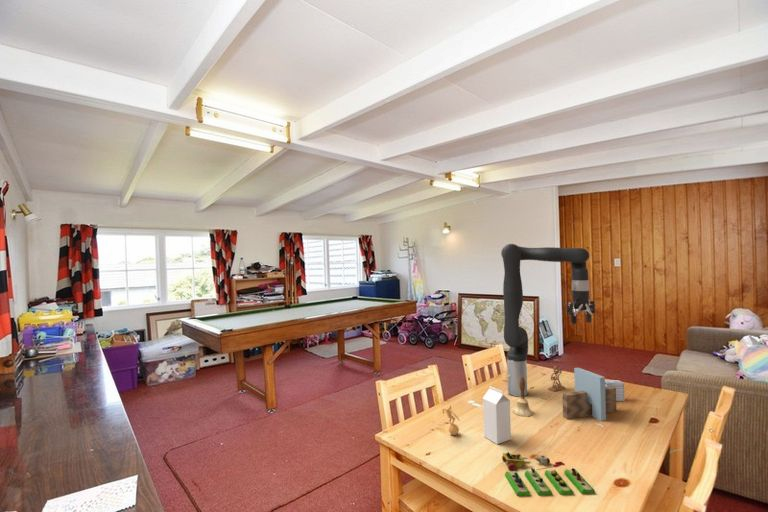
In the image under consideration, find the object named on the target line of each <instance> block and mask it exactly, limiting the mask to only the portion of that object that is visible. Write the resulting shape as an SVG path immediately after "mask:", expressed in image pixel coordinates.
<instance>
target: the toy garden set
mask: <svg viewBox="0 0 768 512" xmlns="http://www.w3.org/2000/svg"><path fill="white" fill-rule="evenodd" d="M501 454H502V456H501V459H502V461H503V462H504V463H505V465H507V469H508V470H507V471H505V473H504V477H505V479H506V480H507V482H508V483H509V485H510V487H511V488H512V490H513V492H514V494H515V495H516V496H517V497H525V496H526V497H527V496H531V492H530V490H529V488H528V487H527V486H526V484H525V483H524V480H522V478H521V476H520V474H519V473H518V472H517V471H516V470H517V469H520V468H521V467H522V466H523V464H531V461H529V460H528V457H526V456H522V454H520V453H518V454H517V453H510V452H509V451H507V453H506V452H502V453H501ZM527 460H528V461H527ZM534 460H535V461H537V462H538V463H539V464H540V465H541V466H544V467H542V468H537V469H536V470H535V468H533V467H531V468H530V470H525V471H524V477H525V478H526V480H527V481H528V482H529V484H530V485H531V487H532V488H533V489H534V491H535V493H536V494H537V496H553V492H552V490H551V489H550V487H549V485H547V484H546V482H545V481H544V478H543V477H542V476H540V474H539V472H538V471H540V470H545V469H546V470H545V471H544V476H545V477H546V479H548V481H549V482H550V484H551V485H552V486H553V488H554V489H555V491H557V493H558V494H559V495H560V496H565V495H567V496H569V495H574V491H573V489H572V488H571V487H570V485H569V484H568V483H567V482H566V481H565V479H564V478H563V477H562V476H561V475H560V474H559V472H558V471H557V470H556V469H551V470H548V469H550V468H557V467H560V466H566V464H565V463H564V462H563V461H556V462H554V464H553V465H549V464H551V460H550V458H549V457H547V455H545V454H539V456H537V455H536V456H534ZM548 465H549V466H548ZM546 466H547V467H546ZM563 474H564V475H565V476H566V478H567V479H568V480H569V481H570V482H571V484H572V485H573V487H574V488H576V489H577V491H578V492H579V493H580V494H581V495H587V494H589V495H591V494H596V491H595V489H594V488H593V487H592V485H591V484H589V482H587V480H586V479H585V478H584V477H583V476H582V475H581V474H580V472H578V471H577V469H576V468H573V467H572V468H571V469H569V468H568V469H565V470H564V472H563Z"/></svg>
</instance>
